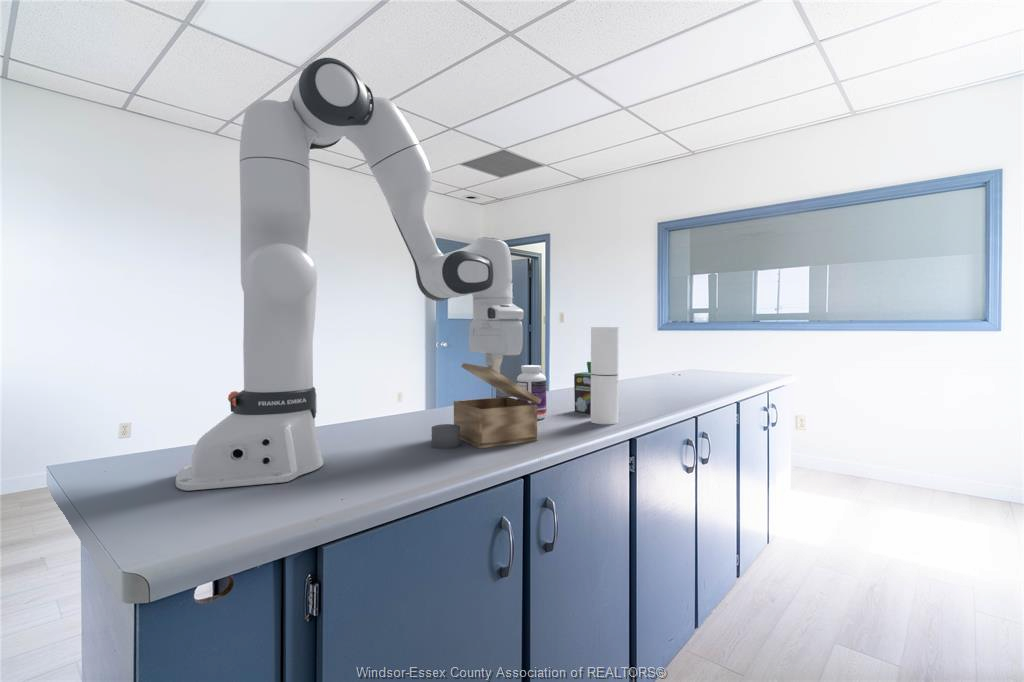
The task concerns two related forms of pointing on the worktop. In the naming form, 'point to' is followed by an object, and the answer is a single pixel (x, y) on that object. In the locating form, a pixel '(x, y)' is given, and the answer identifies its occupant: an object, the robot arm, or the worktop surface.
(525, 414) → the box
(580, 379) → the chalk box
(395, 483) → the worktop surface
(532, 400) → the lid
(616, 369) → the cylindrical container
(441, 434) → the smooth gray rounded object
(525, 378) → the pill bottle
